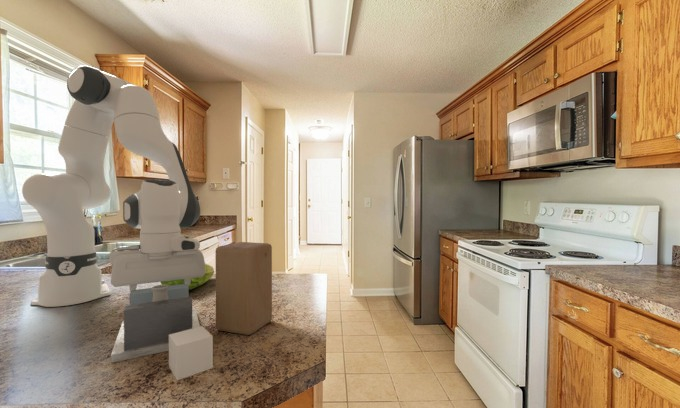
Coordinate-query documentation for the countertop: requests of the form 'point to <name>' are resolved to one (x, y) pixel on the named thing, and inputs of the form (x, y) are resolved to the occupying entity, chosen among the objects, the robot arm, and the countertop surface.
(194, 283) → the lettuce
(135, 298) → the sliding jaw
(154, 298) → the flask
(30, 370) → the countertop surface
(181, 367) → the white cube
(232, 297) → the wooden block
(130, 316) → the base
